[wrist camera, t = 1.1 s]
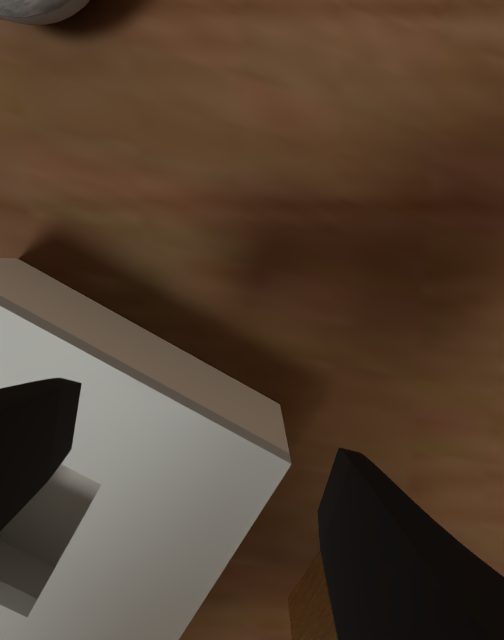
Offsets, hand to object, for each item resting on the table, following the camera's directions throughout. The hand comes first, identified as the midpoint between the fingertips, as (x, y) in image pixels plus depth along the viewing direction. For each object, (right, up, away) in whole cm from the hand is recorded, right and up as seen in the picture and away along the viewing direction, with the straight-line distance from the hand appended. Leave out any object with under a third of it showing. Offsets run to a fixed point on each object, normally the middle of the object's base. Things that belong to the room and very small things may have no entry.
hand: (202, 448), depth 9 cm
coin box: (-8, -4, +11) cm, 14 cm away
